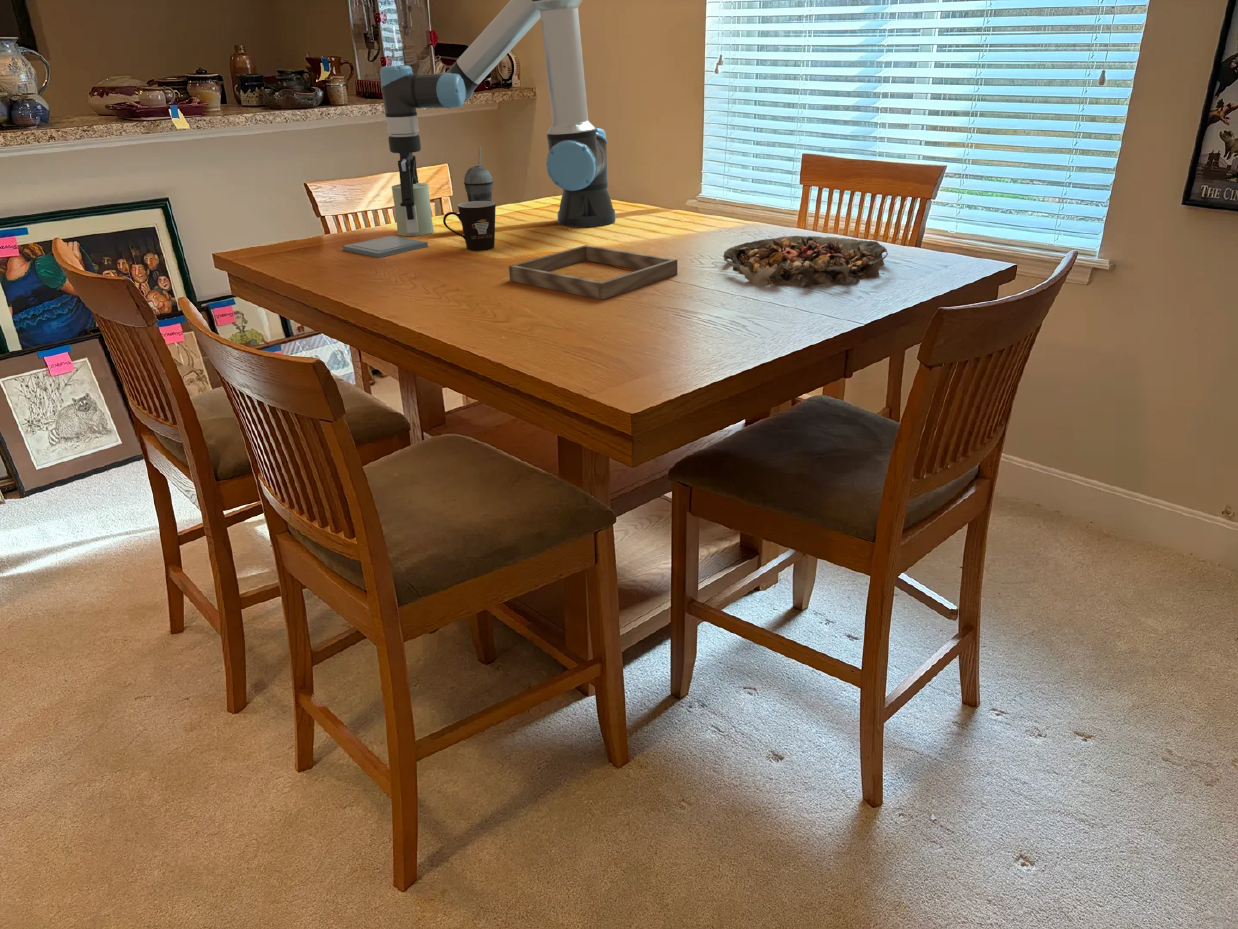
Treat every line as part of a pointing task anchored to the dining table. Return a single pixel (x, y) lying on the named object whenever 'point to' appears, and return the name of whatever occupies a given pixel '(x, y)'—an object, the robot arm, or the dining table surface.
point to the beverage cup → (478, 183)
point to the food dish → (807, 261)
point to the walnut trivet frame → (539, 276)
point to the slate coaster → (385, 246)
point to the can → (421, 210)
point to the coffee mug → (476, 224)
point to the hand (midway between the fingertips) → (415, 228)
